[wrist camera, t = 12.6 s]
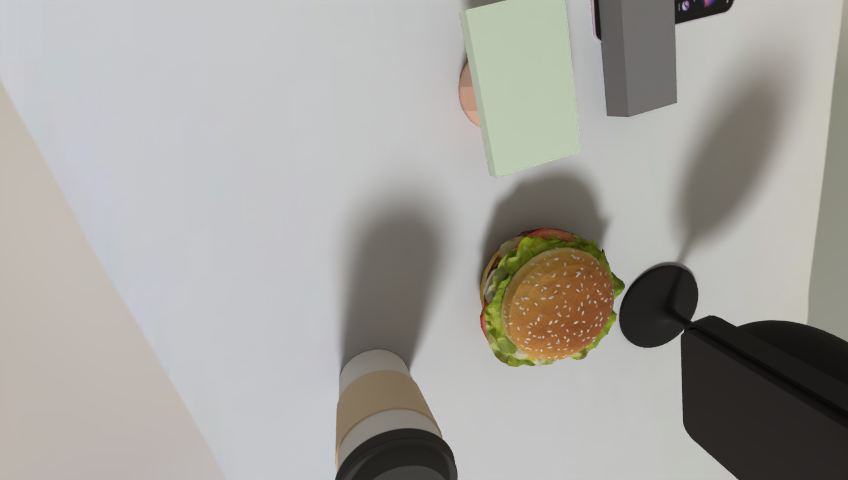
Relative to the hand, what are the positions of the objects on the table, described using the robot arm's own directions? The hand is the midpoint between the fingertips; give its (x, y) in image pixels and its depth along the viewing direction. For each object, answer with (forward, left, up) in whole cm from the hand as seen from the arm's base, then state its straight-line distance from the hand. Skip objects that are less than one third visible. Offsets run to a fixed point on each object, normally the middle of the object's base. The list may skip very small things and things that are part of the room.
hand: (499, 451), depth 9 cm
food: (+15, +14, -31) cm, 37 cm away
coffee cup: (+19, -4, -31) cm, 36 cm away
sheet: (-5, +14, -26) cm, 30 cm away
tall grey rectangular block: (-5, +27, -30) cm, 41 cm away
